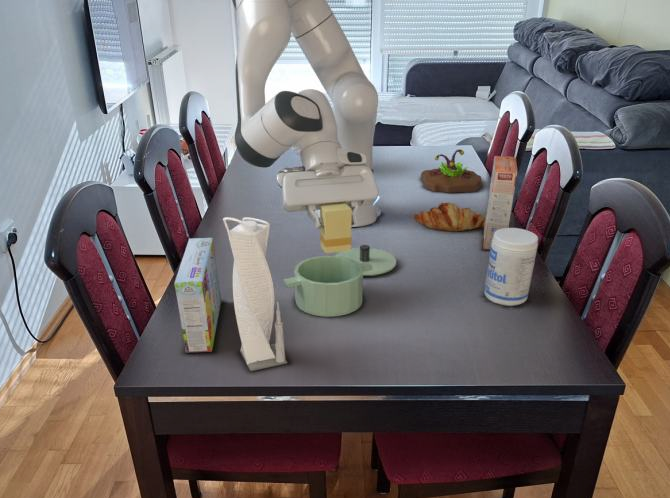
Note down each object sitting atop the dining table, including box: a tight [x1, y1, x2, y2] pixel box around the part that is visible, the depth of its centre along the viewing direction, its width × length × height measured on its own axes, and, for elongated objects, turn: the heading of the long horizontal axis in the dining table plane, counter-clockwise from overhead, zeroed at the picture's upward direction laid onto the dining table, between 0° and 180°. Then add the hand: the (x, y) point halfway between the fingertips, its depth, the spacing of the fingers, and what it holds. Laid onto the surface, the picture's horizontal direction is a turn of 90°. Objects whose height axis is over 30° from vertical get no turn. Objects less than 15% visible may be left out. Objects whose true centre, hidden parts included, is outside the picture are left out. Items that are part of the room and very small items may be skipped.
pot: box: [283, 255, 372, 318], centre depth 140 cm, size 15×20×8 cm
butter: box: [319, 203, 352, 254], centre depth 134 cm, size 4×6×9 cm
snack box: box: [173, 237, 222, 354], centre depth 128 cm, size 21×6×15 cm, turn 5°
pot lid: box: [334, 244, 397, 276], centre depth 158 cm, size 16×16×5 cm
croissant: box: [413, 202, 486, 232], centre depth 180 cm, size 21×10×8 cm
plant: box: [420, 149, 483, 194], centre depth 212 cm, size 20×20×11 cm
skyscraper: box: [222, 216, 288, 372], centre depth 115 cm, size 8×8×28 cm
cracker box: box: [482, 155, 518, 251], centre depth 167 cm, size 14×6×21 cm, turn 168°
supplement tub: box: [483, 227, 539, 307], centre depth 141 cm, size 10×10×15 cm
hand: (336, 226), depth 133 cm, fingers closed on butter, 5 cm apart
